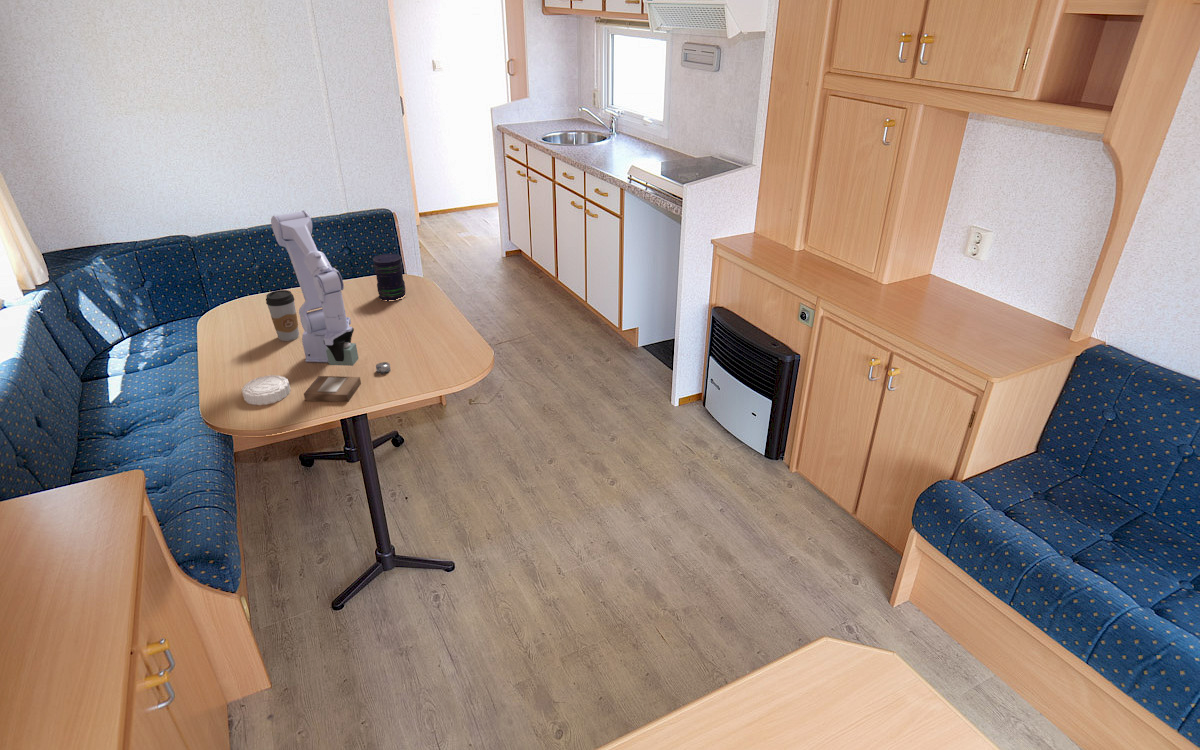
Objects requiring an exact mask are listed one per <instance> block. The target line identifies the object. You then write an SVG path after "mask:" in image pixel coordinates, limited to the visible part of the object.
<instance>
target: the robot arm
mask: <svg viewBox="0 0 1200 750" xmlns="http://www.w3.org/2000/svg"><path fill="white" fill-rule="evenodd" d="M270 224H271V228H272V232H273V234H274V238H275V240H276V242H277V244H278V245H279V246H280V247H283V248H285V249H286V251H287V253H288V256H289V259H290V261H291V263H292V267H293V270H294V273H295V275H296V278H297V281H298V285H299V288H300V290H301V293H302V295H303V299H304V300H305V301H304V302H303V304H302V305H301V306H300V307H299V309H298V314H299V318H300V320H299V321H300V324H301V326H302V329H303V333H302V338H301V339H302V340H301V342H302V347H303V352H304V356H305V360H304V361H305V362H306V363H329V362H328V357H327V352H326V349H327V348H329V350H330V351H331V353H332V354H333V356H334V358H335V360H336V361H343V360H344V343H345V342H349V343H352V337H353V334H354V330H355V328H354V327H353V326H350V325H351V324H352V321H351V320H352V319H351V317H349V316H347V314H346V309H345V303H344V298H343V292H342V291H344V289H345V287H344V281H343V277H342V275H341V273H340V271H339V270H338V269H336V268H335V267H332V265H331V263H330V262H329V260H328V258H327V256H326V254H325V253H324V252H323V251H321V250H320V251H319V250H318V248H317V245H316V244H315V241H314V239H313V237H312V234H313V221H312V218H311V215H310V214H309V212H307V211H306V210H301V211H295V212H291V213H290V212H289V213H284V214H279V215H275V214H274V215H272V216H271V218H270Z"/></svg>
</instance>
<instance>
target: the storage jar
mask: <svg viewBox="0 0 1200 750" xmlns="http://www.w3.org/2000/svg"><path fill="white" fill-rule="evenodd" d="M372 261H373V269H374V274H375V276H376V281H377V284H376V287H377V292H378V298H379V300H380V299H382V300H387V301H386V302H389V300H396V299H398V298H401V297H403V296H404V295H405V293H406V285H405V284H406V283H405V280H404V276H403V272H404V271H403V270H404V268H403V262H402V257H401V255H400V254H397V253H382V254H379V255H375V256H373V258H372ZM382 300H381V301H382Z"/></svg>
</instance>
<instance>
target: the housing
mask: <svg viewBox="0 0 1200 750" xmlns="http://www.w3.org/2000/svg"><path fill="white" fill-rule="evenodd" d="M357 348H358V347H357V342H356V343H355V342H351V343H349V342H345V343H344V360H343V361H336V360H335V358H334V356H333V354H332V353H331V351H330V350H329V348H327V349H326V352H327V357H328V362H327V363H328V366H352V367H353V366H354V365H355V364H356V363H357V361H359V354H358V349H357Z"/></svg>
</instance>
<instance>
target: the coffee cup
mask: <svg viewBox="0 0 1200 750" xmlns="http://www.w3.org/2000/svg"><path fill="white" fill-rule="evenodd" d="M265 296H266V297H265V298H266V299H265V301H266V302H265V304H266V306H267V308H268V311H269V313H270V317H271V321H272V323H273V326H274V329H275V332H276V336H277V337H278V339H279V341H282V342H289V341H290V342H291V341H295V340H296V339H299V335H300V330H299V322H298V314H297V309H296V302H295V296H294V294H293V293H292V291H290V290H287V289H286V290H285V289H280V290H275V291H271V292H269V293H267V294H266V295H265Z"/></svg>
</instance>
